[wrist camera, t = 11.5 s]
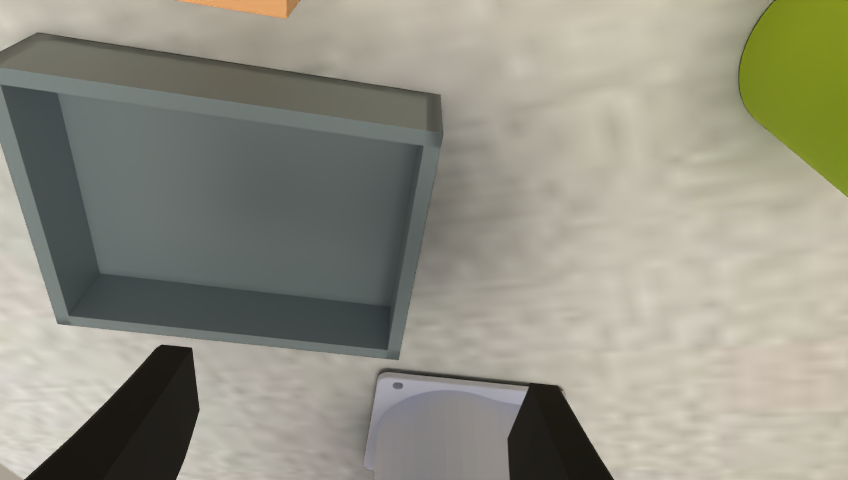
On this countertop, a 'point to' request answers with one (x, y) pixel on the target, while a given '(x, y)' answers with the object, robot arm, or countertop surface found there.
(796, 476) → the countertop surface
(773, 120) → the soap dispenser
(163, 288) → the bin
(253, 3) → the letter cube
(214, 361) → the countertop surface
